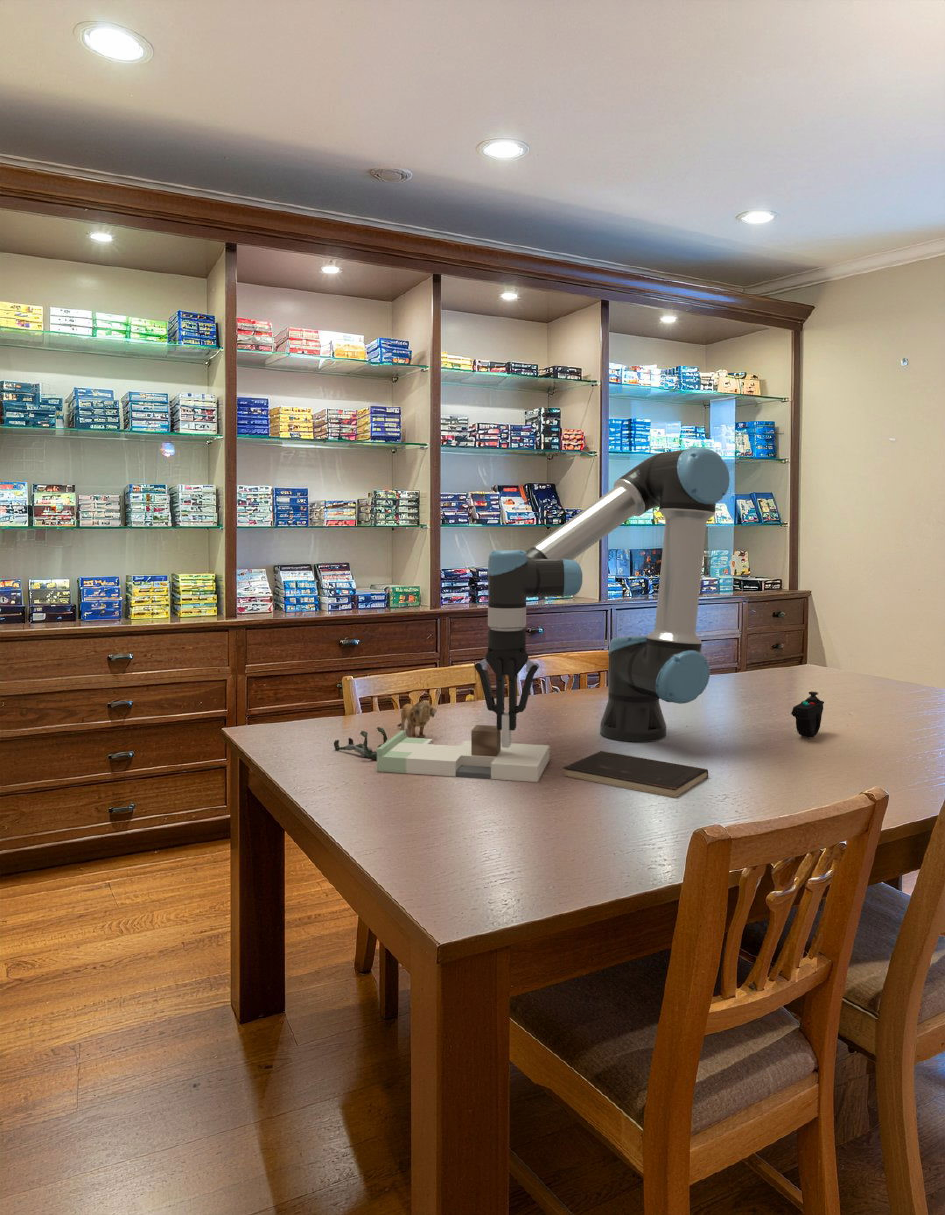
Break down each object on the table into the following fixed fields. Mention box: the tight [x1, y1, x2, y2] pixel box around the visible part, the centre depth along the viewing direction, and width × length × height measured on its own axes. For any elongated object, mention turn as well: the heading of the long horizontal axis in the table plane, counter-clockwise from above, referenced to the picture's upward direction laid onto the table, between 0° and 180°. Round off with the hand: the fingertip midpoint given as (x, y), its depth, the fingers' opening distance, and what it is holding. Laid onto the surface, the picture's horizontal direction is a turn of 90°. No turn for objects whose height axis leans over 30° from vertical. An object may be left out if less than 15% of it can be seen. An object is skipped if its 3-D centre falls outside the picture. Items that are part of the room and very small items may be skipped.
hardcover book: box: [562, 750, 709, 798], centre depth 165 cm, size 16×23×2 cm
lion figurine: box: [397, 699, 437, 738], centre depth 199 cm, size 15×5×9 cm, turn 35°
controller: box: [790, 691, 825, 739], centre depth 196 cm, size 4×12×10 cm, turn 141°
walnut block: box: [470, 724, 502, 757], centre depth 171 cm, size 5×5×5 cm
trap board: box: [376, 729, 550, 783], centre depth 173 cm, size 32×16×4 cm, turn 77°
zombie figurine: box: [333, 726, 388, 761], centre depth 181 cm, size 5×7×15 cm
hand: (506, 745), depth 171 cm, fingers closed
